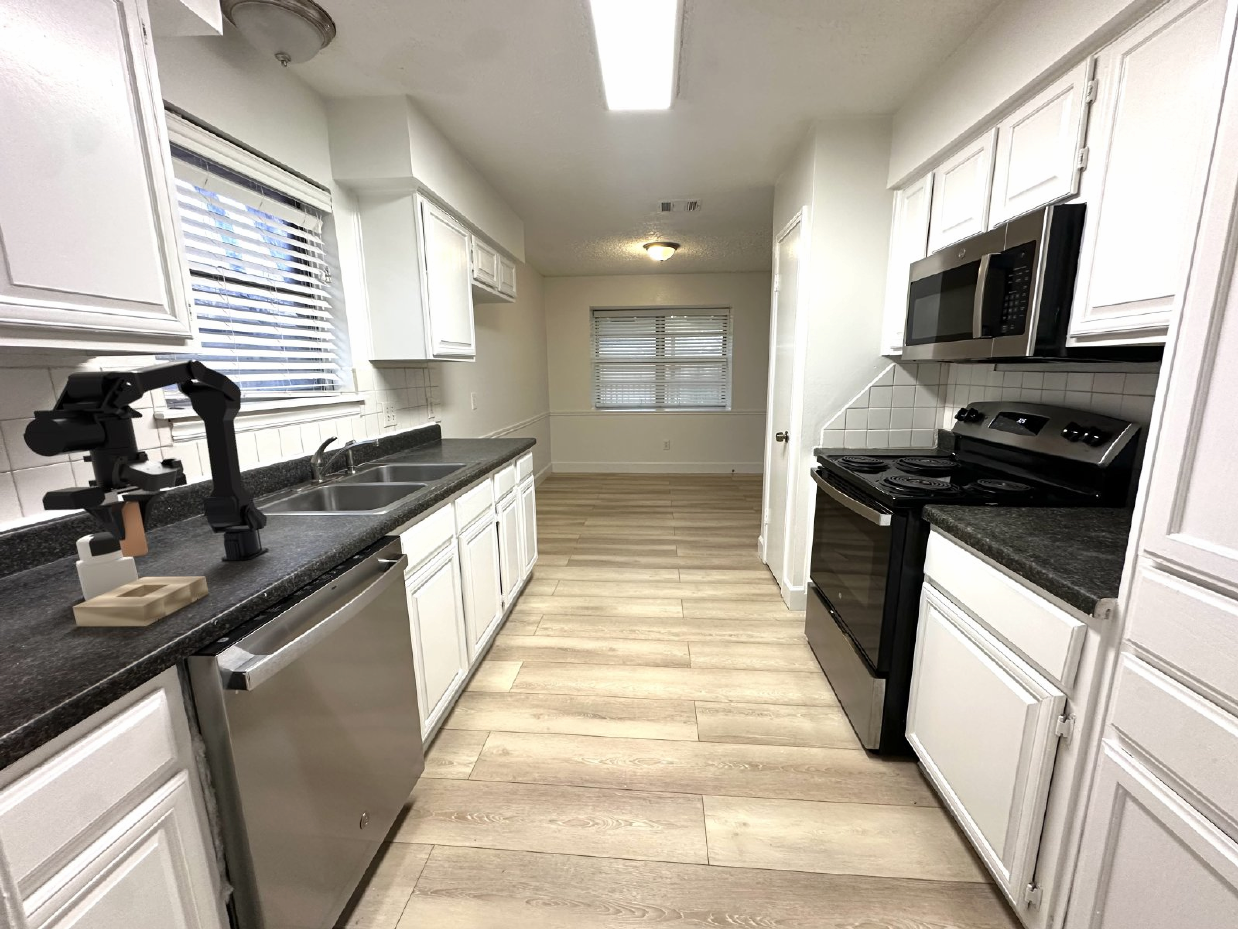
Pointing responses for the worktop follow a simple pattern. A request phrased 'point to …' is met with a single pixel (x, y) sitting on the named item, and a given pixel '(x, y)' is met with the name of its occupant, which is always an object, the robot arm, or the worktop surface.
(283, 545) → the worktop surface
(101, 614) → the socket block
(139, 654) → the worktop surface
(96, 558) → the medicine bottle
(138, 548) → the peg
